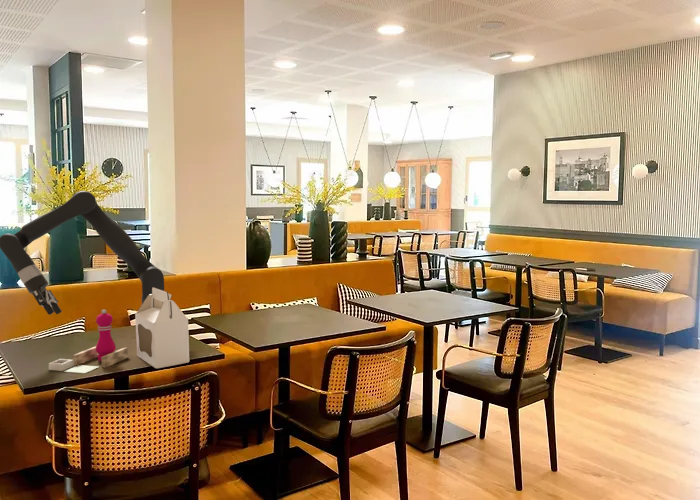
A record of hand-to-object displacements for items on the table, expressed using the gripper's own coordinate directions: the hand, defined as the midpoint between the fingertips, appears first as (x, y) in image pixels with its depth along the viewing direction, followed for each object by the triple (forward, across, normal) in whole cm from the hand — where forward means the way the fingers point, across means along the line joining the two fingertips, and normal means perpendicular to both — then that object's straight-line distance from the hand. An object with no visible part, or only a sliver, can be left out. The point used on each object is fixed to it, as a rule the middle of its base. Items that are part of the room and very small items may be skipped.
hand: (55, 313), depth 227 cm
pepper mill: (+26, 0, -6) cm, 27 cm away
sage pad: (+25, -12, 0) cm, 28 cm away
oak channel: (+26, -2, -5) cm, 26 cm away
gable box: (+38, -3, -25) cm, 46 cm away
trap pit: (+20, -9, +6) cm, 23 cm away
